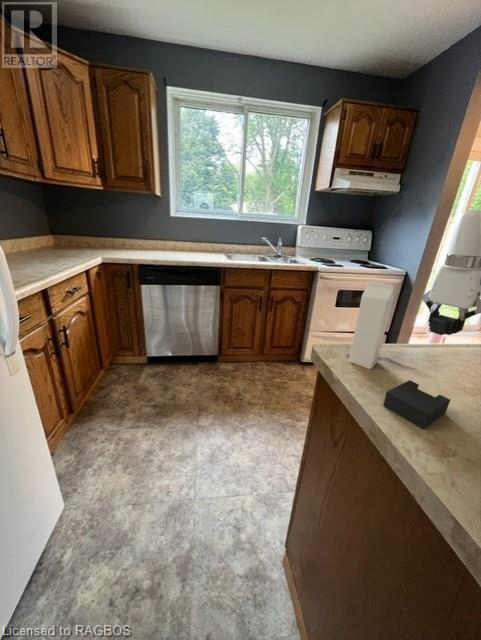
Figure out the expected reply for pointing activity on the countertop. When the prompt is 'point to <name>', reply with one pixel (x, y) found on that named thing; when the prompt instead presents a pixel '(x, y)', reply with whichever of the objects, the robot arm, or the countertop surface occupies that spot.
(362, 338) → the milk
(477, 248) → the robot arm
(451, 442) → the countertop surface
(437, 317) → the black rectangular block
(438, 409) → the black notched block
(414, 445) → the countertop surface
